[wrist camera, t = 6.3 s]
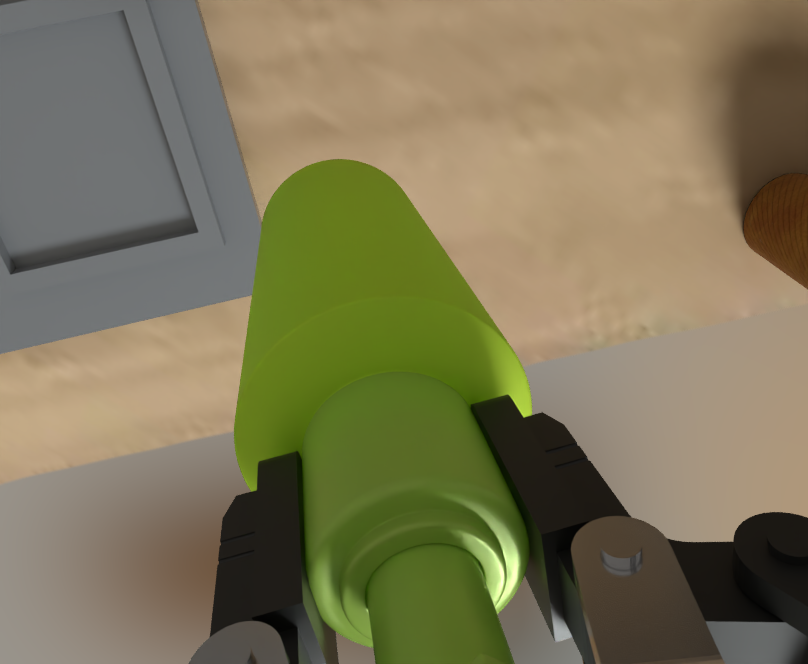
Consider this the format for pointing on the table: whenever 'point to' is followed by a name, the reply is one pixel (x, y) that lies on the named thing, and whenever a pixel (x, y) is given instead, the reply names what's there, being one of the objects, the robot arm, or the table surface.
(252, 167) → the table surface
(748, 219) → the disposable coffee cup
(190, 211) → the stand
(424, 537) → the soap dispenser
